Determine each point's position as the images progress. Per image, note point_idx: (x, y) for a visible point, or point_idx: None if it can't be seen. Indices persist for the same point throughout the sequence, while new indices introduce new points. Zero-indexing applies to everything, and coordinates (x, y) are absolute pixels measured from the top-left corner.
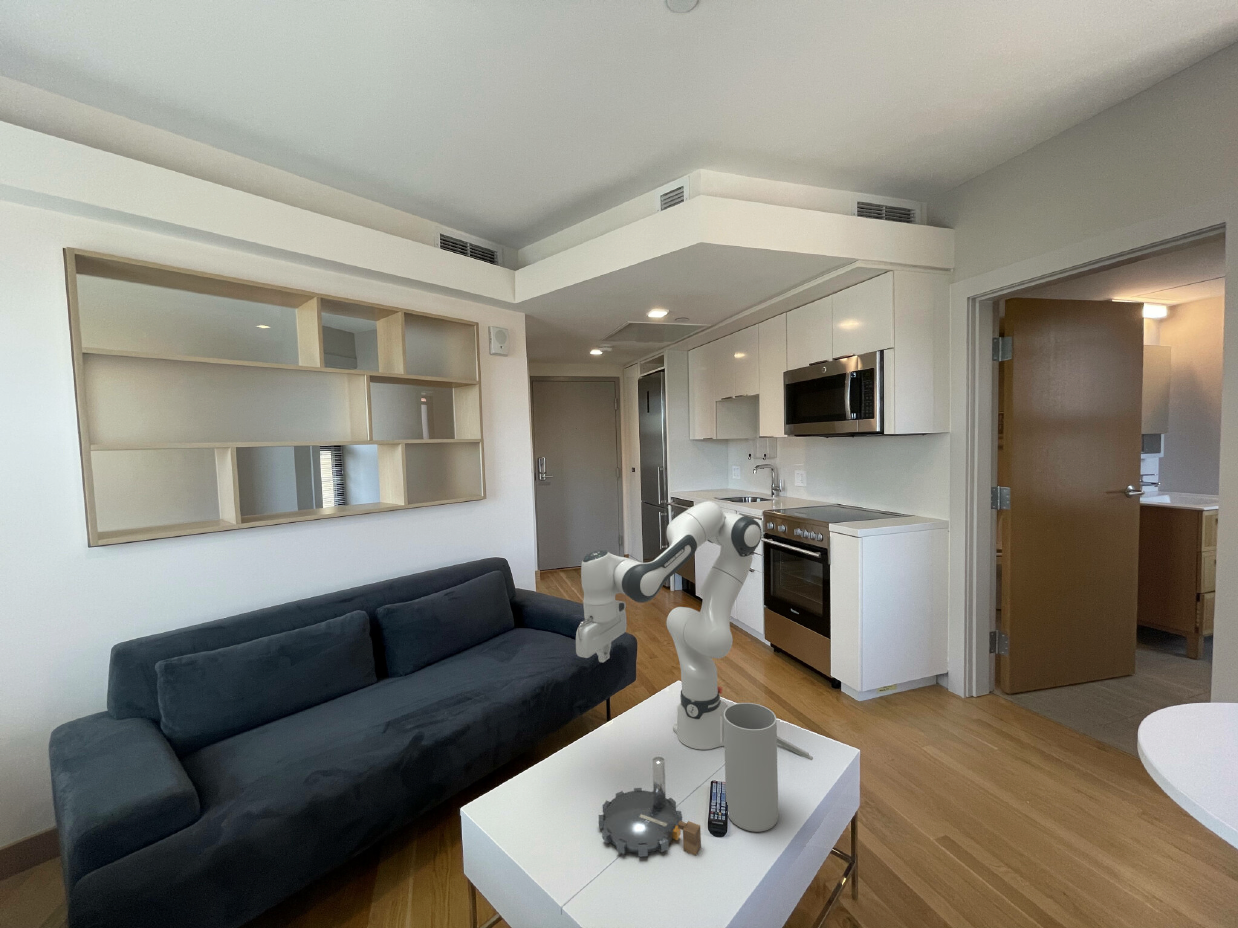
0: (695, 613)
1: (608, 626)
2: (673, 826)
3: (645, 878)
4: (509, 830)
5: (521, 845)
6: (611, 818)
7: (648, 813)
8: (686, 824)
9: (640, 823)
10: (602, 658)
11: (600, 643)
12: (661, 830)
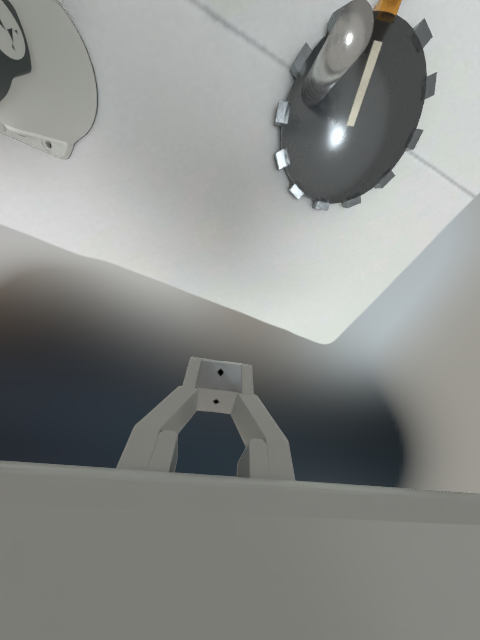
0: None
1: None
2: (382, 18)
3: (460, 70)
4: (350, 306)
5: (372, 285)
6: (355, 182)
7: (343, 108)
8: None
9: (368, 117)
10: (250, 385)
11: (382, 585)
12: (392, 52)
